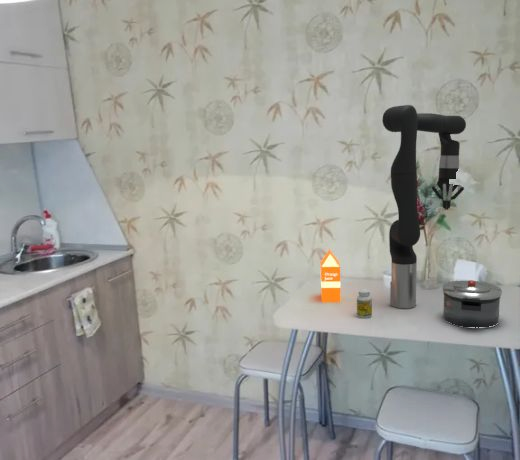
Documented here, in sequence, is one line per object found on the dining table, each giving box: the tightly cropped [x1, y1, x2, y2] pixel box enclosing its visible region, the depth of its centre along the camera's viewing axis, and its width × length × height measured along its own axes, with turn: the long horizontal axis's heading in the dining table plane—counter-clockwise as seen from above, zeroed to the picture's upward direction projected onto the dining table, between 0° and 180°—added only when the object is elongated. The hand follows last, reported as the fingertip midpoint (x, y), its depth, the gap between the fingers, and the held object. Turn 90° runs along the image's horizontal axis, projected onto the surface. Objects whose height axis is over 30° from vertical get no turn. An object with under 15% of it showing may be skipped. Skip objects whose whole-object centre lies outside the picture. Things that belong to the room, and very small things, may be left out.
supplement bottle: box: [356, 288, 373, 319], centre depth 183 cm, size 5×5×10 cm
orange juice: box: [319, 248, 342, 303], centre depth 203 cm, size 8×9×20 cm
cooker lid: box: [442, 279, 503, 302], centre depth 173 cm, size 19×21×4 cm
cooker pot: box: [442, 291, 501, 328], centre depth 175 cm, size 18×22×10 cm
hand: (446, 209), depth 204 cm, fingers closed
